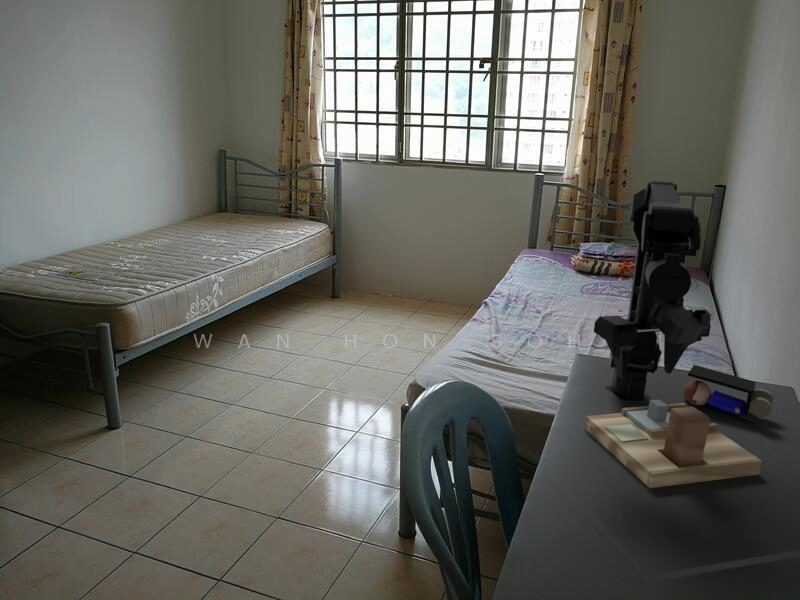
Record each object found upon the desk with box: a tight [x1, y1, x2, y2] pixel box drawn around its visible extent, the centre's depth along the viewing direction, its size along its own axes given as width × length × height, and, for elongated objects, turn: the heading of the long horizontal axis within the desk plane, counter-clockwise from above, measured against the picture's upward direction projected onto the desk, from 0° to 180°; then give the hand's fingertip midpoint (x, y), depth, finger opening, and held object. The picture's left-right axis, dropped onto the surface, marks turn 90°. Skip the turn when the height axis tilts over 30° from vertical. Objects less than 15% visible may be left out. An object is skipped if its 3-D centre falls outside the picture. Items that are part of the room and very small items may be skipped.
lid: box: [626, 399, 670, 433], centre depth 112 cm, size 7×8×4 cm
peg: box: [663, 406, 711, 468], centre depth 100 cm, size 4×4×10 cm
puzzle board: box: [584, 402, 762, 489], centre depth 108 cm, size 19×20×4 cm
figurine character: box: [683, 364, 774, 423], centre depth 124 cm, size 7×8×15 cm
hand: (644, 375), depth 107 cm, fingers open, 9 cm apart
